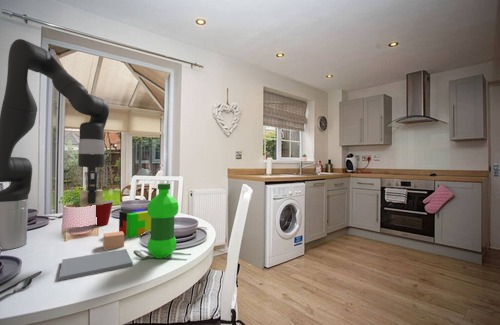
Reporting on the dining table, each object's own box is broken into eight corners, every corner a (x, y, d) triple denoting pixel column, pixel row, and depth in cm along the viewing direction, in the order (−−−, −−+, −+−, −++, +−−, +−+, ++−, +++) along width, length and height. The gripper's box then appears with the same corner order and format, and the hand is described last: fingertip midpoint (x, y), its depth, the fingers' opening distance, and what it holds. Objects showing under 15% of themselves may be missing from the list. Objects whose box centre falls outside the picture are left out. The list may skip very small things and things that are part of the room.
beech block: (79, 206, 78) (80, 191, 78) (79, 204, 82) (80, 190, 82) (102, 204, 82) (102, 190, 82) (101, 202, 86) (101, 189, 86)
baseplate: (58, 280, 64) (59, 276, 64) (62, 262, 75) (62, 259, 75) (132, 265, 74) (132, 262, 74) (125, 251, 86) (125, 249, 86)
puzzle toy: (140, 229, 115) (140, 208, 116) (151, 233, 110) (152, 211, 110) (118, 233, 107) (119, 211, 107) (130, 238, 101) (130, 214, 102)
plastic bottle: (183, 252, 87) (184, 183, 87) (164, 263, 77) (166, 185, 77) (160, 248, 90) (161, 182, 90) (139, 258, 80) (141, 184, 80)
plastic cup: (97, 221, 128) (98, 199, 128) (117, 222, 127) (118, 200, 127) (82, 227, 117) (83, 202, 117) (104, 227, 116) (105, 203, 117)
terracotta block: (104, 250, 87) (104, 236, 87) (103, 246, 91) (103, 233, 91) (124, 246, 91) (124, 234, 91) (122, 243, 95) (122, 231, 95)
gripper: (78, 153, 86) (77, 201, 85) (78, 151, 74) (77, 206, 74) (102, 154, 90) (102, 199, 90) (106, 152, 79) (105, 204, 78)
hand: (91, 202), depth 82 cm, fingers closed on beech block, 5 cm apart
